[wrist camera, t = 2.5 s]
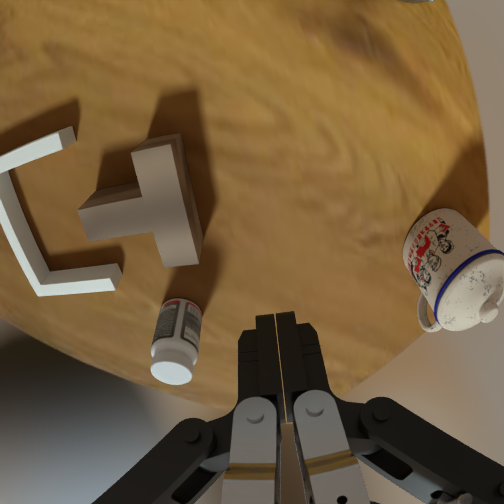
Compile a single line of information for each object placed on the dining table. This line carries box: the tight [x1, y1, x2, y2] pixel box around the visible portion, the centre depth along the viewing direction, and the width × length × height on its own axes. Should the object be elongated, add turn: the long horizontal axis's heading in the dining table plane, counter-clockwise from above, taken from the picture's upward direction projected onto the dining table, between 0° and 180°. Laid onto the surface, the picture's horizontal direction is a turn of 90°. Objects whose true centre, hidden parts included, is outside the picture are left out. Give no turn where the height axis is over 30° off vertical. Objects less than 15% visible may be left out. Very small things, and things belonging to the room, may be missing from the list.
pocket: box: [0, 126, 122, 296], centre depth 26 cm, size 16×11×2 cm
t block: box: [77, 132, 204, 268], centre depth 25 cm, size 10×9×4 cm
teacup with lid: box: [403, 208, 504, 332], centre depth 26 cm, size 12×9×12 cm
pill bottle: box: [151, 298, 202, 385], centre depth 30 cm, size 5×5×8 cm
